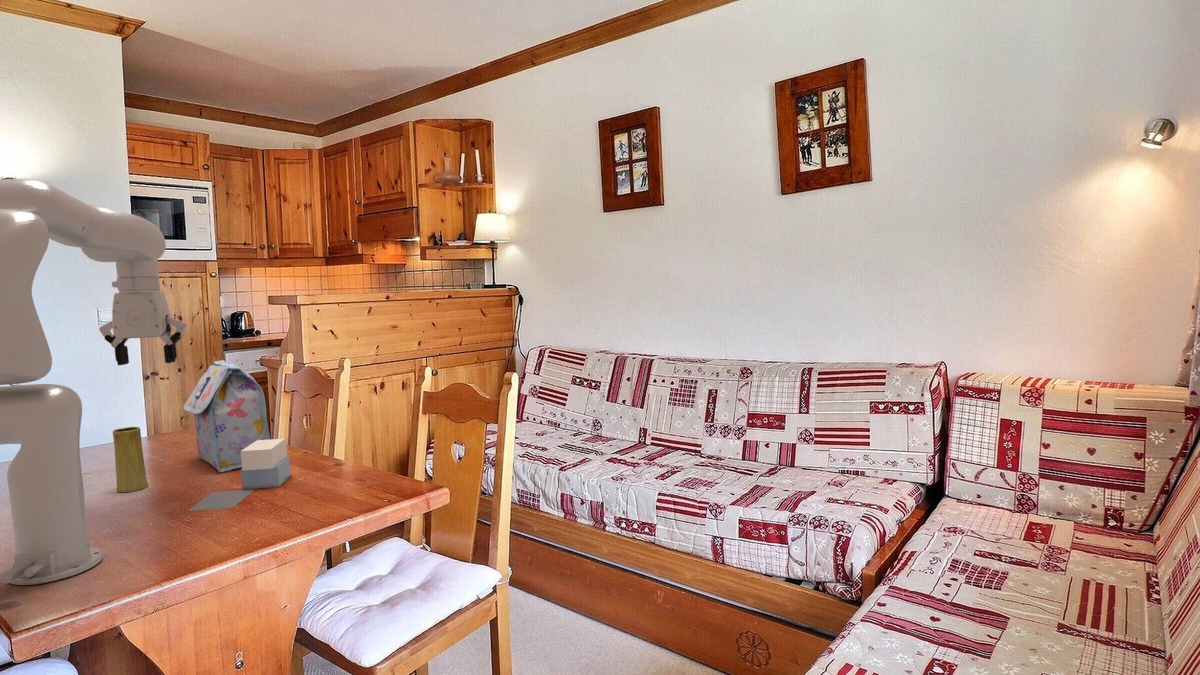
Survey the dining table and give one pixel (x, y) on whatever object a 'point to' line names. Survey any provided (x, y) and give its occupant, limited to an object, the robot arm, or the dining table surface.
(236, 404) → the lunch bag
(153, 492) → the dining table surface
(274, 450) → the lid
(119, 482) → the vase
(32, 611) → the dining table surface
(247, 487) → the open box
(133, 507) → the dining table surface
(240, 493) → the mat
